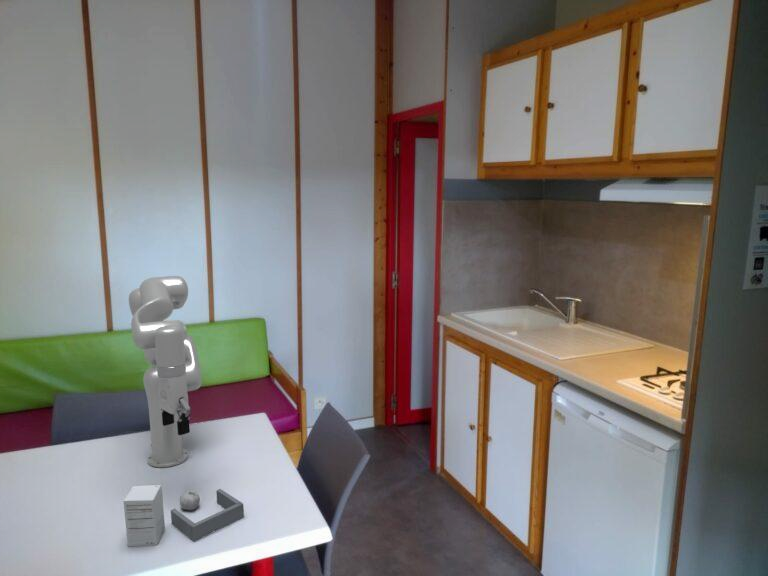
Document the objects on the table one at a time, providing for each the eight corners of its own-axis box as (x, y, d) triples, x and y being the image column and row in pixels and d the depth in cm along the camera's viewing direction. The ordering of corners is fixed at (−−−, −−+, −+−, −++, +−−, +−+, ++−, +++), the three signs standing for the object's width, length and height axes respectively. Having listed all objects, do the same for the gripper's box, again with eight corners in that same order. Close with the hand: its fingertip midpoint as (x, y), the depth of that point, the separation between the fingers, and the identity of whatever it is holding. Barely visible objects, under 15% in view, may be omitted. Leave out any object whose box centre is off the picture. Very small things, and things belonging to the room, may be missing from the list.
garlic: (204, 507, 161) (203, 490, 160) (187, 516, 157) (185, 498, 157) (193, 500, 165) (192, 483, 164) (175, 507, 161) (174, 490, 160)
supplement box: (136, 530, 151) (132, 485, 149) (165, 528, 152) (162, 484, 149) (126, 547, 144) (122, 500, 142) (157, 545, 144) (153, 499, 142)
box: (171, 524, 154) (170, 510, 153) (220, 501, 164) (220, 488, 164) (193, 541, 146) (192, 527, 145) (243, 517, 157) (243, 503, 156)
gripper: (145, 367, 164) (150, 424, 167) (172, 380, 152) (176, 441, 155) (171, 361, 169) (175, 417, 172) (199, 373, 157) (203, 433, 160)
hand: (176, 428), depth 163 cm, fingers open, 9 cm apart
